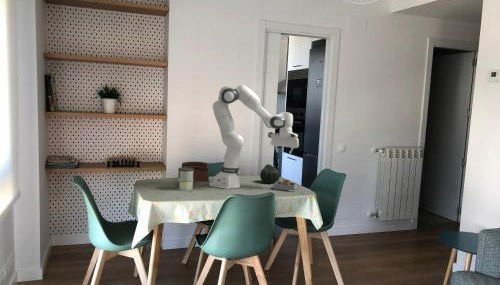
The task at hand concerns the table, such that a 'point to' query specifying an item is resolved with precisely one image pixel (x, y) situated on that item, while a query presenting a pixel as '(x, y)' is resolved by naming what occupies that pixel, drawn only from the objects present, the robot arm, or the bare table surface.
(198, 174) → the letter holder
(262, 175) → the squash
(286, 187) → the charcoal crate
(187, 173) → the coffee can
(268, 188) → the table surface
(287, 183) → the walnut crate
